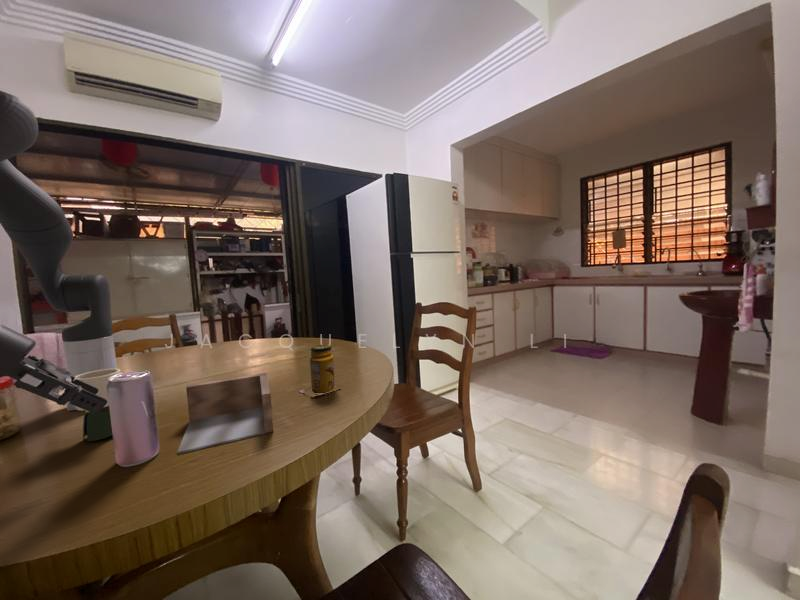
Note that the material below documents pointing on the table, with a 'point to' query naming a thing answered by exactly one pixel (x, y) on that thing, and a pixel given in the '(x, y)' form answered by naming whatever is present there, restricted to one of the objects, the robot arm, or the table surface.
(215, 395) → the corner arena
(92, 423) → the character mug
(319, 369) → the condiment
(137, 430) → the beverage can
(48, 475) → the table surface
